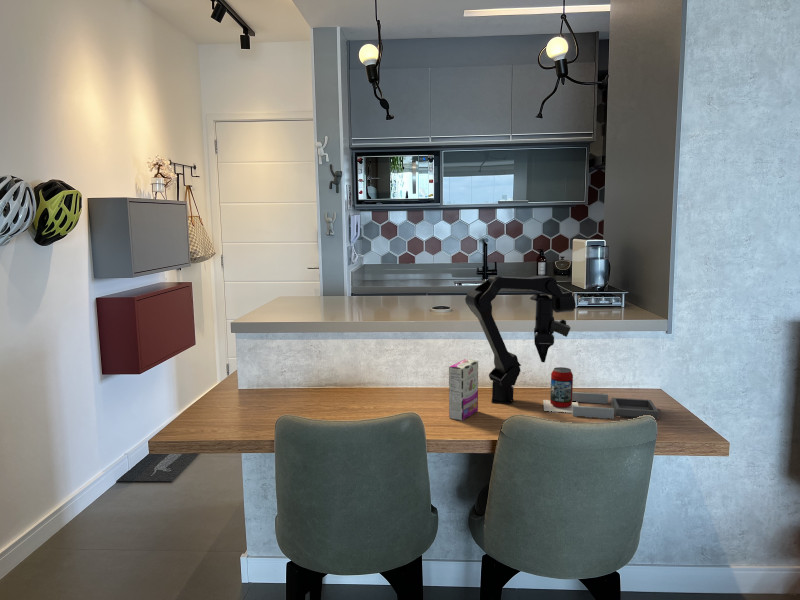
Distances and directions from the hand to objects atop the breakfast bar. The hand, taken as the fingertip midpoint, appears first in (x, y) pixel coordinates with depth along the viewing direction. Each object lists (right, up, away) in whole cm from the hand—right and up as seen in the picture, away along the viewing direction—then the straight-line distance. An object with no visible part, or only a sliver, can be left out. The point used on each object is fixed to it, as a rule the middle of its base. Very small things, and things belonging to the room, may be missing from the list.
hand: (542, 358), depth 205 cm
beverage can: (+4, -14, -10) cm, 18 cm away
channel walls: (+12, -15, -12) cm, 23 cm away
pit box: (+25, -15, -15) cm, 33 cm away
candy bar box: (-29, -16, -17) cm, 37 cm away
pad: (+4, -15, -10) cm, 18 cm away
